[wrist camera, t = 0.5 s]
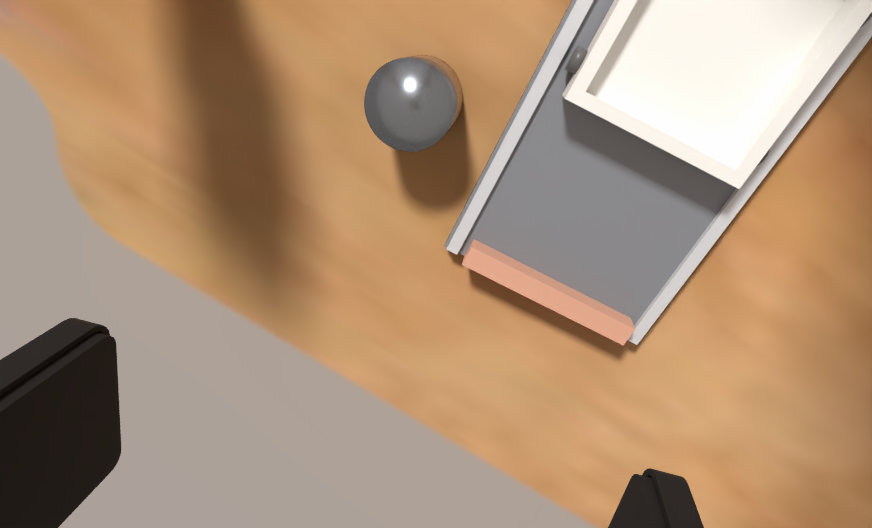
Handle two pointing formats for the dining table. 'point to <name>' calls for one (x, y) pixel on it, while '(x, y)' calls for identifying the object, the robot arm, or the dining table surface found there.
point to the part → (413, 102)
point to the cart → (711, 72)
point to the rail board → (601, 199)
